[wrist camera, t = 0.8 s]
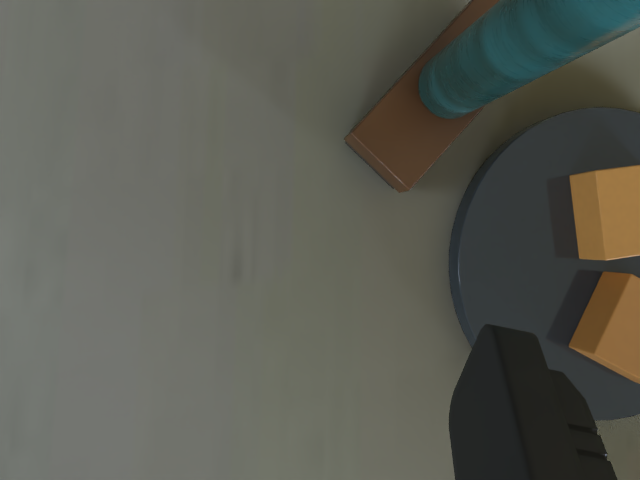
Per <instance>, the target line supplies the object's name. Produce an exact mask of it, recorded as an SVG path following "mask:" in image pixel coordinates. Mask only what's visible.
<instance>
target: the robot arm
mask: <svg viewBox="0 0 640 480" xmlns="http://www.w3.org/2000/svg"><path fill="white" fill-rule="evenodd" d="M597 430H598V429H597V427H596V424H595V422H594V419H593V417H592V414H591V411H590V409H589V406H588V404H587V401H586V399H585V398H584V397H583V396H582V394H581V393H580V392H579V391H578V390H577V388H576V387H575V386H574V385H573V384H572V382H571V381H570V380H569V379H568V378H567V376H566V375H565V374H564V373H563V372H560V371H556V370H551V369H548V366H547V363H546V360H545V357H544V354H543V352H542V349H541V346H540V343H539V340H538V338H537V336H536V335H535V334H534V333H530V332H525V331H520V330H515V329H510V328H506V327H501V326H496V325H491V324H486V325H484V326H483V327H482V329H481V330H480V332H479V334H478V336H477V339H476V341H475V343H474V346H473V348H472V350H471V353H470V355H469V357H468V360H467V362H466V364H465V366H464V369H463V371H462V373H461V376H460V378H459V380H458V383H457V385H456V387H455V390H454V393H453V396H452V400H451V405H450V412H449V432H450V440H451V448H452V457H453V465H454V473H455V480H617V477H616V475H615V472H614V470H613V467H612V465H611V462H610V461H607V452H606V450H605V447H604V444H603V442H602V439H601V437H600V435H597Z"/></svg>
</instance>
